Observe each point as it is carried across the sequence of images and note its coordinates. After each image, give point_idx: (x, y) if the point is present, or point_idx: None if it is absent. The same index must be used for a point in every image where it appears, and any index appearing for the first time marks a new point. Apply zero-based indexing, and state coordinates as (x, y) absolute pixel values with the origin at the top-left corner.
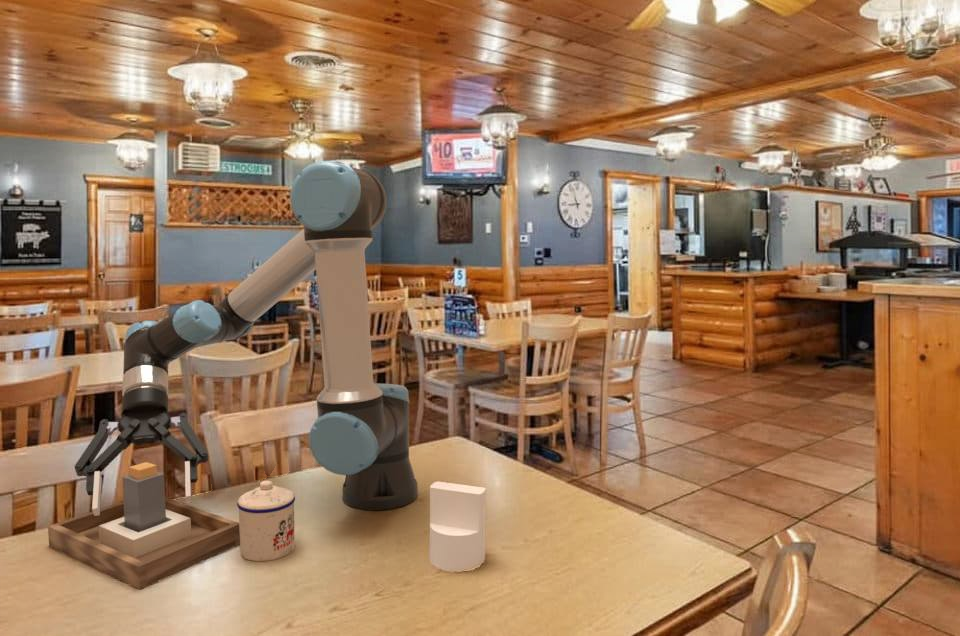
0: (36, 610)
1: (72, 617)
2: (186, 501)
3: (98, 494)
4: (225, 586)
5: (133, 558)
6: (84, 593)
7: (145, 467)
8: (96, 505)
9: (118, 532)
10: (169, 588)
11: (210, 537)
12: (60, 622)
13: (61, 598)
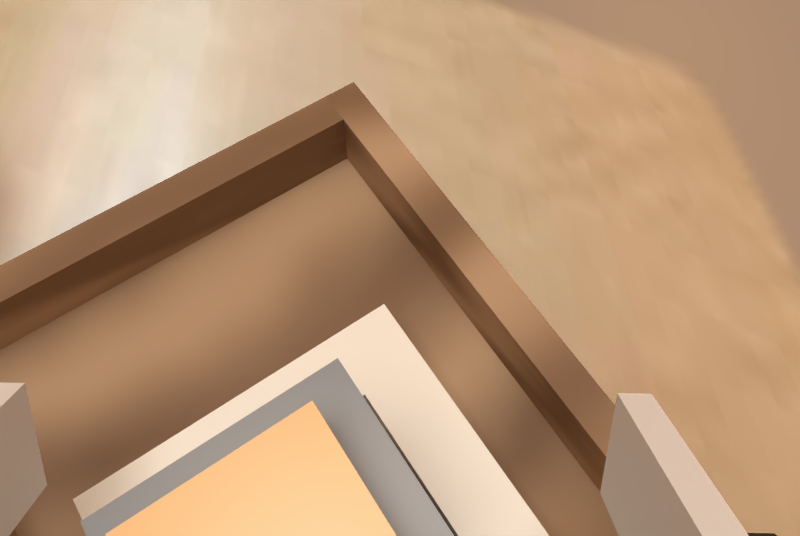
0: (653, 133)
1: (534, 59)
2: (37, 456)
3: (659, 473)
4: (96, 61)
5: (375, 154)
6: (532, 182)
7: (242, 493)
8: (632, 405)
9: (468, 441)
10: (264, 112)
11: (41, 247)
12: (561, 46)
13: (599, 177)
